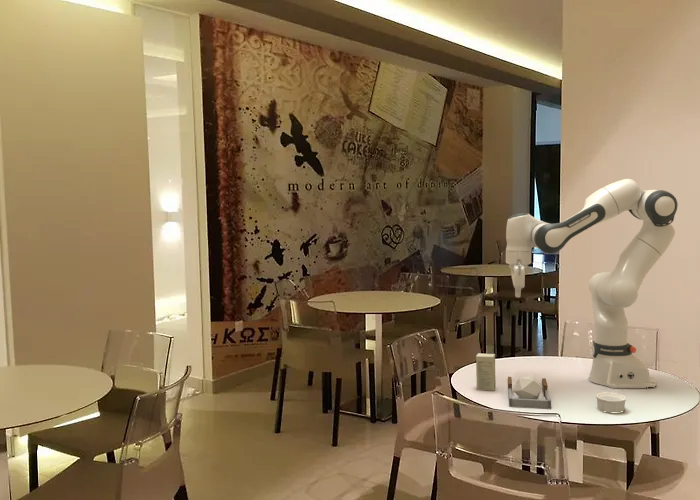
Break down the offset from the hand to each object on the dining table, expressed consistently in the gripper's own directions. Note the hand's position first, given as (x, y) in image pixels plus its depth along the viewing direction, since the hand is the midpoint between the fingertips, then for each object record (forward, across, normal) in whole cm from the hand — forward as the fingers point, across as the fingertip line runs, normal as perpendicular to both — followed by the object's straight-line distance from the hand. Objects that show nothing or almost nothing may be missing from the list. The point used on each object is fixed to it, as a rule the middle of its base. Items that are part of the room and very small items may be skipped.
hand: (517, 296), depth 240 cm
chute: (+31, -13, -3) cm, 34 cm away
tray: (+31, -23, -3) cm, 39 cm away
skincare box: (+31, -11, +11) cm, 35 cm away
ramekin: (+32, -26, -28) cm, 50 cm away
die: (+31, -21, -3) cm, 38 cm away
